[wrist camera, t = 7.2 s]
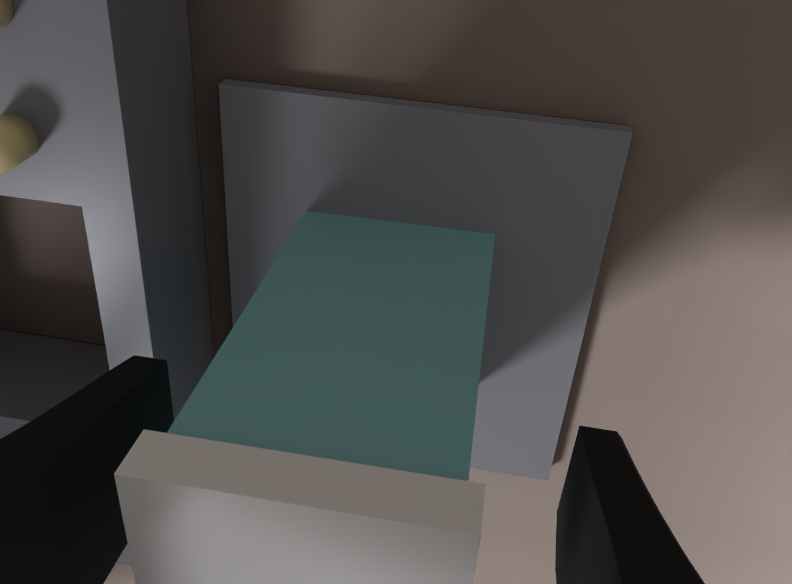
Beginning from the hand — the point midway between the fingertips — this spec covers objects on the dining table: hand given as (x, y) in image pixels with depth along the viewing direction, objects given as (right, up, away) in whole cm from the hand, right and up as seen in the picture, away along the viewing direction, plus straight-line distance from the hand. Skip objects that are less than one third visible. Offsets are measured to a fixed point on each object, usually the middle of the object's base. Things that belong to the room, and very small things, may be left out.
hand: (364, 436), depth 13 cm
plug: (+1, +2, +4) cm, 4 cm away
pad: (+1, +2, +4) cm, 5 cm away
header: (-8, +4, +5) cm, 10 cm away
